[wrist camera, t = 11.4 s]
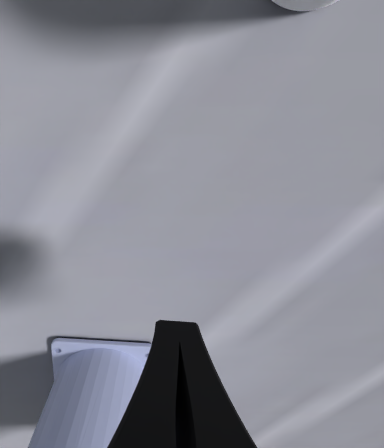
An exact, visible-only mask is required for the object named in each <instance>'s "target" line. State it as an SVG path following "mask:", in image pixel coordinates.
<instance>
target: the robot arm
mask: <svg viewBox="0 0 384 448" xmlns="http://www.w3.org/2000/svg"><path fill="white" fill-rule="evenodd" d="M51 351H52V363H53V374H54V383H53V386H52V388H51V391H50V393H49V396H48V398H47V401H46V403H45V406H44V408H43V411H42V413H41V416H40V418H39V421H38V423H37V426H36V428H35V431H34V433H33V436H32V438H31V441H30V443H29V446H28V448H257V447H256V445H255V443H254V442H253V440H252V438H251V437H250V435H249V433H248V431H247V430H246V428H245V426H244V424H243V423H242V421H241V419H240V417H239V415H238V414H237V412H236V410H235V408H234V406H233V404H232V402H231V400H230V398H229V397H228V395H227V393H226V391H225V389H224V386H223V384H222V382H221V380H220V378H219V376H218V374H217V372H216V370H215V367H214V365H213V363H212V361H211V358H210V356H209V353H208V351H207V349H206V346H205V344H204V341H203V338H202V335H201V333H200V330H199V326H198V325H197V324H196V323H194V322H180V321H166V320H159V321H157V322H156V325H155V332H154V338H153V342H152V344H150V343H135V342H118V341H101V340H85V339H68V338H56V339H54V340H53V341H52V343H51ZM147 353H149V354H147Z"/></svg>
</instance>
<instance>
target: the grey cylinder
mask: <svg viewBox="0 0 384 448" xmlns="http://www.w3.org/2000/svg"><path fill="white" fill-rule="evenodd" d="M272 1H273V2H274V3H276V4H277V5H279V6H281V7H284V8H286V9H289V10H294V11H312V10H317V9H320V8H323V7H326V6H328V5H331V4H333V3H335V2H337V1H339V0H272Z"/></svg>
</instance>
